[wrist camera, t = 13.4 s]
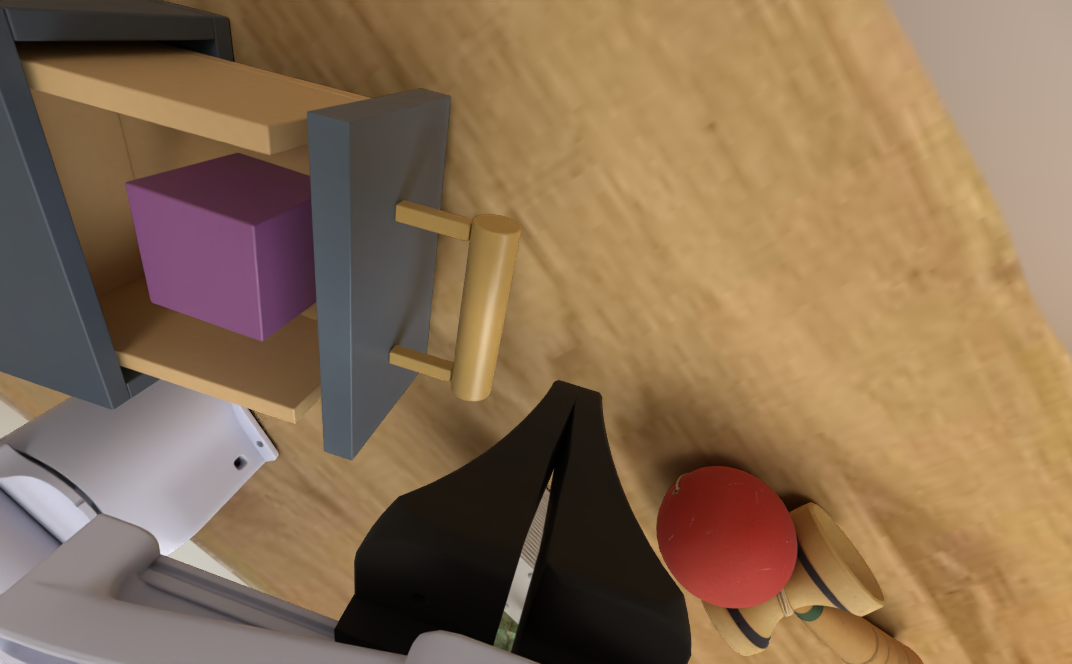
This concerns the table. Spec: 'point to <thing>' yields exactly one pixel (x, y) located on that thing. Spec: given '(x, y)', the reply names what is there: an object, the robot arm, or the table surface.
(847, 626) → the kendama
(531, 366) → the table surface
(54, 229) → the cabinet
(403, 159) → the drawer
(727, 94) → the table surface
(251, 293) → the block
